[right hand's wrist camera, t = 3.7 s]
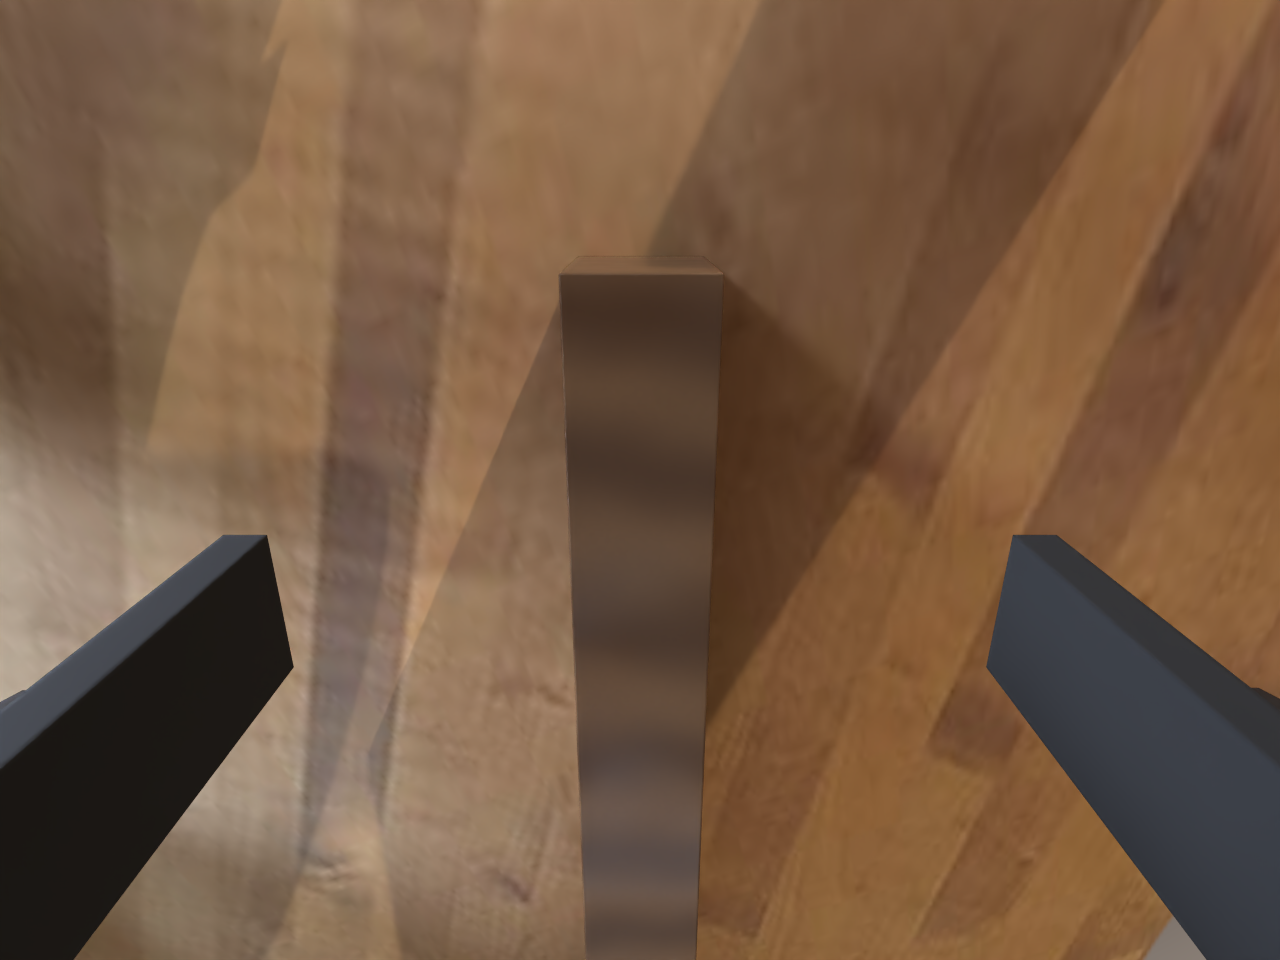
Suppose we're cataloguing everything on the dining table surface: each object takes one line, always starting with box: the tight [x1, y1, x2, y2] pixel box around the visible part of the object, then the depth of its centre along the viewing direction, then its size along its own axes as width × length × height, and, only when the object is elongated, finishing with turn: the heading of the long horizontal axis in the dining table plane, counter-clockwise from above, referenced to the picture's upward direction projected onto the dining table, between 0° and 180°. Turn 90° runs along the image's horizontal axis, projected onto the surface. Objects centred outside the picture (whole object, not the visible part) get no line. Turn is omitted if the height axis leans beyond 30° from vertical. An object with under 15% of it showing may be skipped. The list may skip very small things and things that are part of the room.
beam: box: [559, 257, 724, 960], centre depth 37 cm, size 52×6×8 cm, turn 0°
